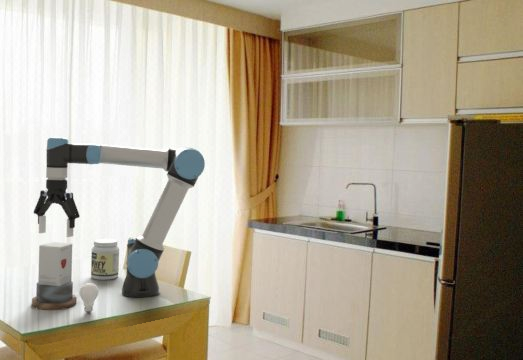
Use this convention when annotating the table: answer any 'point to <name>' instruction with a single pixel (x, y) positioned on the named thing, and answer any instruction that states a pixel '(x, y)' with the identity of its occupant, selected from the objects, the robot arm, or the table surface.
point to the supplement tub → (105, 259)
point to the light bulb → (88, 295)
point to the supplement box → (55, 264)
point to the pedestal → (54, 297)
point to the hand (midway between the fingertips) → (55, 234)
